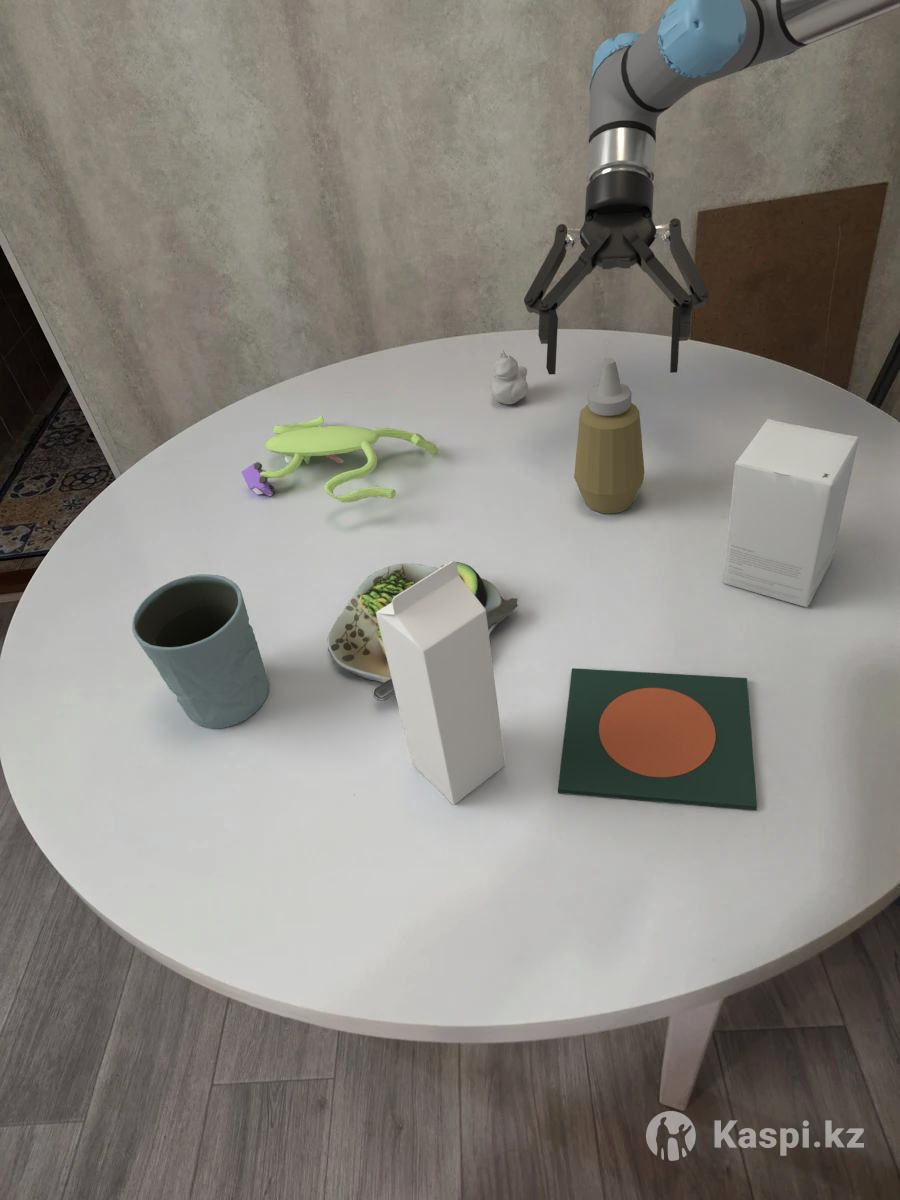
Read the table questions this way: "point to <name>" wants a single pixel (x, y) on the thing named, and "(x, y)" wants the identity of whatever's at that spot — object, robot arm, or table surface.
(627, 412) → the squeeze bottle
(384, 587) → the salad plate
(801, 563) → the white product box
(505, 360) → the rubber duck
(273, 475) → the figurine
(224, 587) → the grey-green cup
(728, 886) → the table surface
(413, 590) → the milk
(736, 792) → the mat
